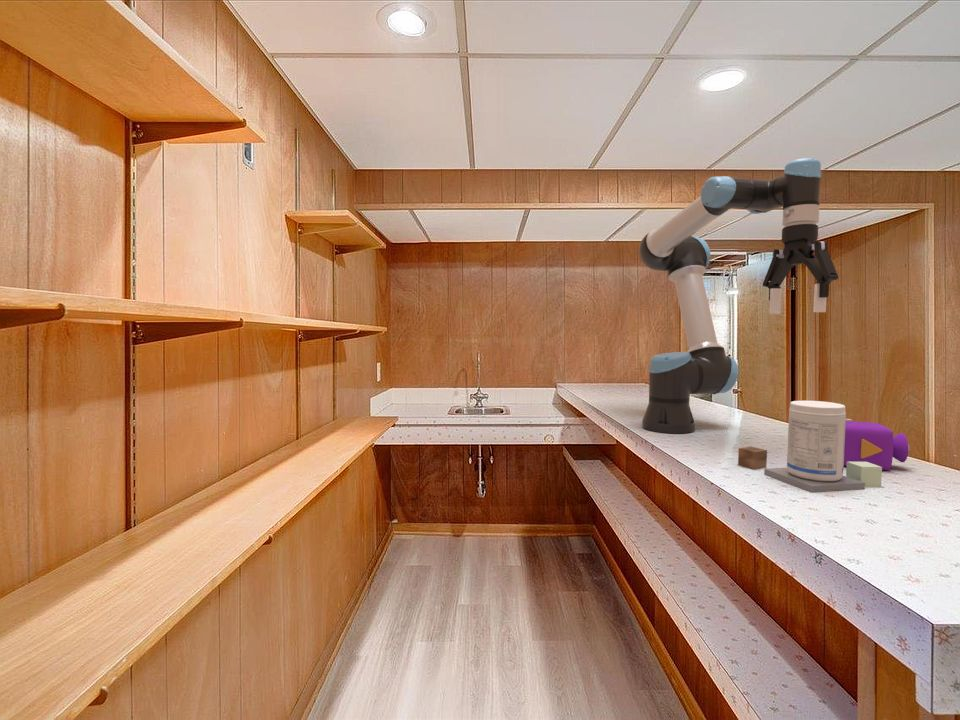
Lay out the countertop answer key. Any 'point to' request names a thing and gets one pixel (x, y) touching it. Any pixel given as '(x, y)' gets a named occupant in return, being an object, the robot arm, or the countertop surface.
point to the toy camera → (873, 444)
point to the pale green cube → (865, 473)
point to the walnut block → (752, 457)
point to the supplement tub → (816, 440)
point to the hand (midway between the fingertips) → (796, 313)
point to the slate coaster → (813, 485)
